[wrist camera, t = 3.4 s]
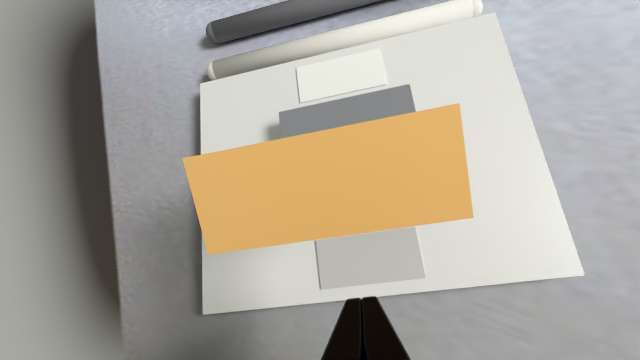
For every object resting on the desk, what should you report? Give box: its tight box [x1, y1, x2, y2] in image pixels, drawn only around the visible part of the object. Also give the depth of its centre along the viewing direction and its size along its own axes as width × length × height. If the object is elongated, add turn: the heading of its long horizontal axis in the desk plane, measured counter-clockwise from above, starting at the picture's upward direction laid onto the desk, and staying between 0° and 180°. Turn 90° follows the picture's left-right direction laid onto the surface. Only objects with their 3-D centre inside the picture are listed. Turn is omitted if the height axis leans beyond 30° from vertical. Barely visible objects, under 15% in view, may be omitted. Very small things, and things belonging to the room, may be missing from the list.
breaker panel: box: [200, 12, 585, 315], centre depth 16 cm, size 14×18×2 cm
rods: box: [206, 0, 483, 81], centre depth 20 cm, size 17×5×1 cm, turn 97°
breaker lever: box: [182, 103, 474, 255], centre depth 10 cm, size 2×5×10 cm, turn 97°
